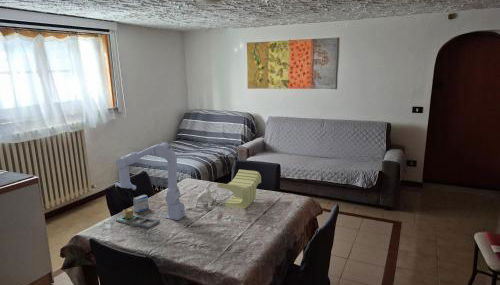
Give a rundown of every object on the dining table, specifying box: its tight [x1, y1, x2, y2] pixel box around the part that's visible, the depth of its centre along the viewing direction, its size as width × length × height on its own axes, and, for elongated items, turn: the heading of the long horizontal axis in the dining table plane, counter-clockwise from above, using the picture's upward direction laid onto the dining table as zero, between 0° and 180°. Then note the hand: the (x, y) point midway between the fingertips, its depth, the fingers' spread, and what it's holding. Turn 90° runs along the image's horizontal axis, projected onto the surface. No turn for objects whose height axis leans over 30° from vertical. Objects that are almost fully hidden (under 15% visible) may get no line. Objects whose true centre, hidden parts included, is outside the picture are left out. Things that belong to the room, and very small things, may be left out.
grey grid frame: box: [115, 214, 161, 230], centre depth 192 cm, size 24×9×1 cm, turn 65°
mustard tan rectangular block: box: [122, 208, 134, 221], centre depth 195 cm, size 4×4×6 cm
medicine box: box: [132, 194, 150, 214], centre depth 208 cm, size 8×4×9 cm, turn 143°
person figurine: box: [193, 182, 219, 209], centre depth 216 cm, size 13×13×18 cm
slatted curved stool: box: [216, 169, 262, 210], centre depth 214 cm, size 30×16×18 cm, turn 156°
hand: (126, 199), depth 198 cm, fingers open, 7 cm apart
